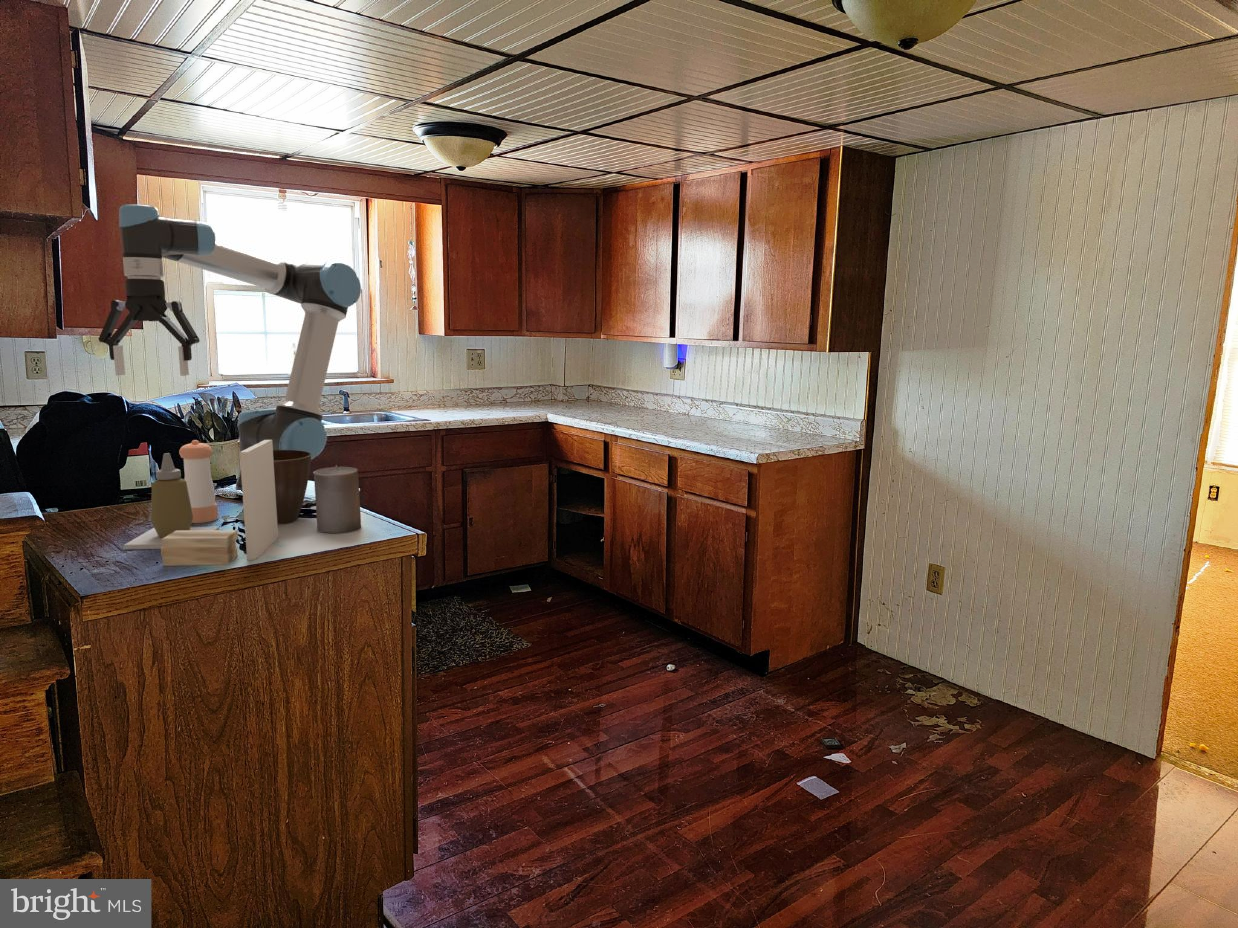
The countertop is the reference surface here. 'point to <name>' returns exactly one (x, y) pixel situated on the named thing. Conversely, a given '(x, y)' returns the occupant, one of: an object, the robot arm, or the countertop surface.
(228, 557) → the offcut stack
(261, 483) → the panel
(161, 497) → the squeeze bottle
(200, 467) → the pepper shaker
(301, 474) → the plant pot
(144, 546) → the grey mat
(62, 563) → the countertop surface
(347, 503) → the pillar candle
